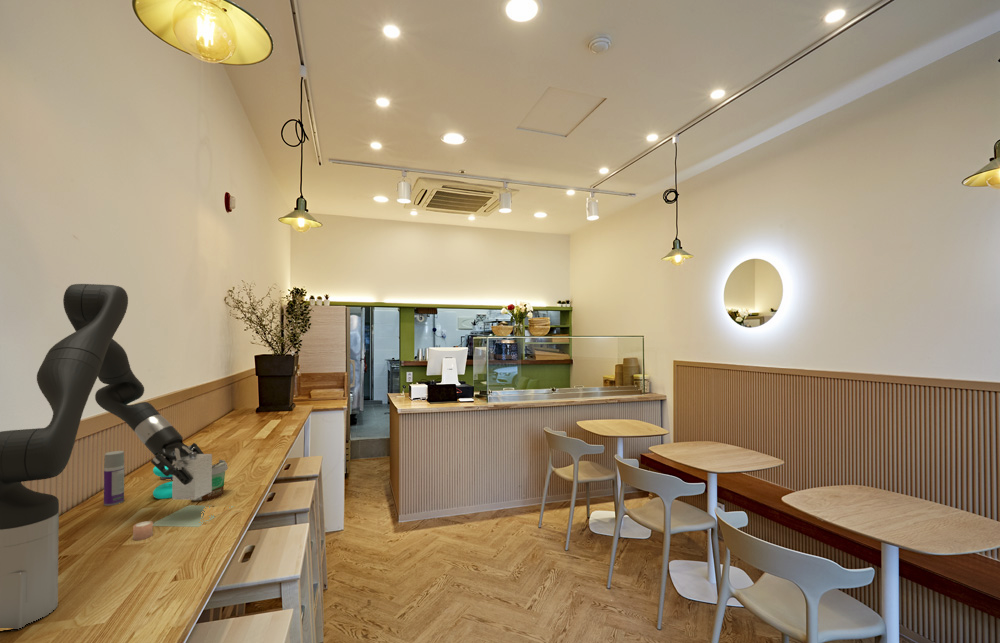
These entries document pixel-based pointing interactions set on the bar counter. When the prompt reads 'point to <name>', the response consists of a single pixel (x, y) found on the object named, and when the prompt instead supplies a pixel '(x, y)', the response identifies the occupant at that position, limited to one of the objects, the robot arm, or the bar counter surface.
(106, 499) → the container
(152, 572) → the bar counter surface
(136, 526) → the terracotta ramekin
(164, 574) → the bar counter surface
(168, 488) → the donuts
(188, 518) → the rubber mat
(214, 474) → the food container
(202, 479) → the steel cover
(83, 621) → the bar counter surface
